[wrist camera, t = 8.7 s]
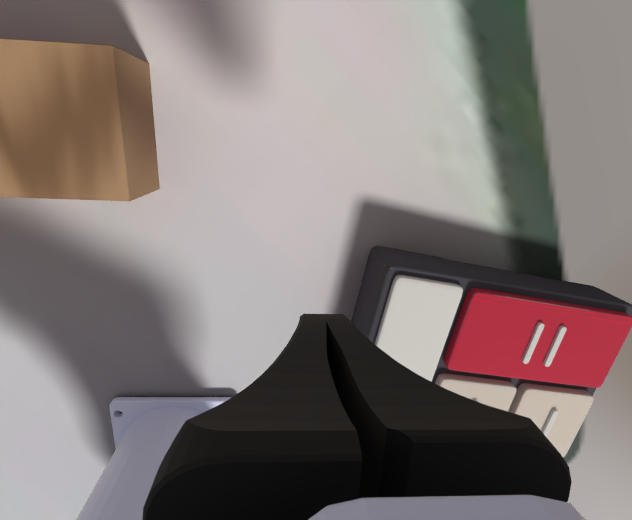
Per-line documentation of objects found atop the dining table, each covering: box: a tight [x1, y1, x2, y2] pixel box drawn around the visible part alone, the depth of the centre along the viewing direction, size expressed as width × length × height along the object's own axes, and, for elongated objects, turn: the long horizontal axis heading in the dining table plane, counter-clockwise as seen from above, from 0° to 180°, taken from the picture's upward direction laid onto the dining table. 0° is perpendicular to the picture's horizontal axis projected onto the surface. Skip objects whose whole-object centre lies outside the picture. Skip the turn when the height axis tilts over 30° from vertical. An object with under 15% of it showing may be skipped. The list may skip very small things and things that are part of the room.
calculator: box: [351, 246, 632, 457], centre depth 23 cm, size 11×4×15 cm
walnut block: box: [0, 39, 159, 201], centre depth 17 cm, size 6×4×10 cm
